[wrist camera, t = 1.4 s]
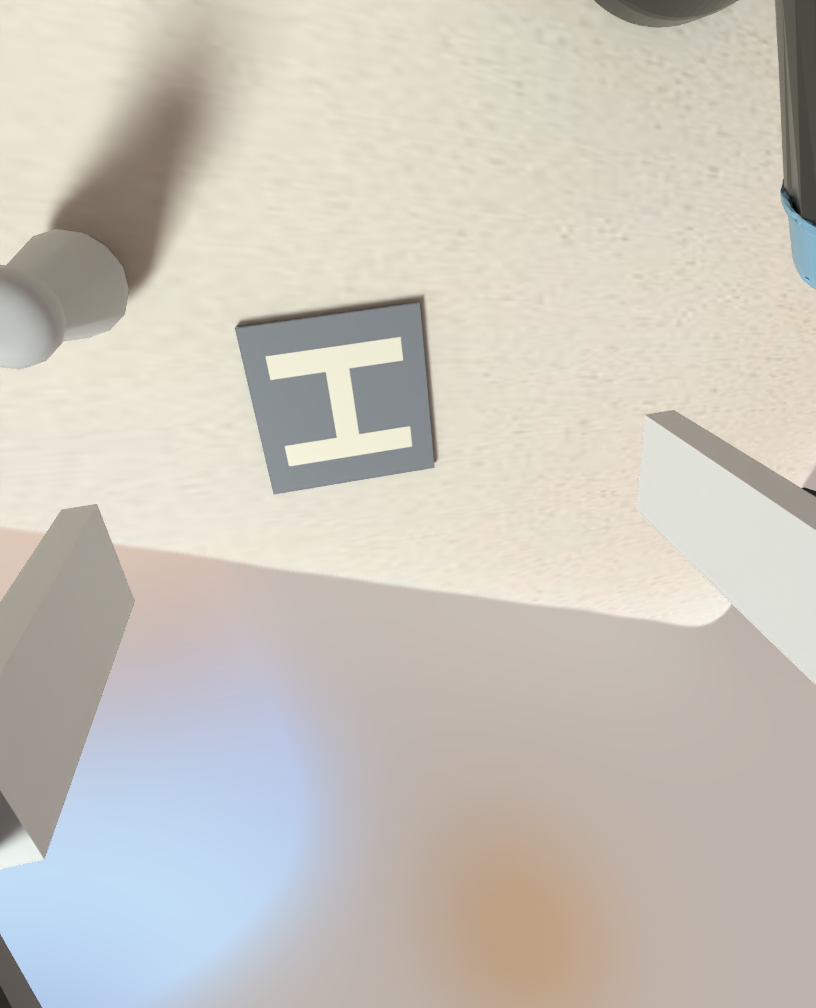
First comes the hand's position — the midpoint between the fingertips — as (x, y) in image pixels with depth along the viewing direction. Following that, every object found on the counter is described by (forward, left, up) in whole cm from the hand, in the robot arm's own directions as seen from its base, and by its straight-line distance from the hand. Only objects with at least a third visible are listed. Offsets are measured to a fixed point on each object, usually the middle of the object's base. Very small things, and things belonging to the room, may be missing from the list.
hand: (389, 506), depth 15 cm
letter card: (0, +7, -29) cm, 30 cm away
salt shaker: (+14, -3, -29) cm, 32 cm away
